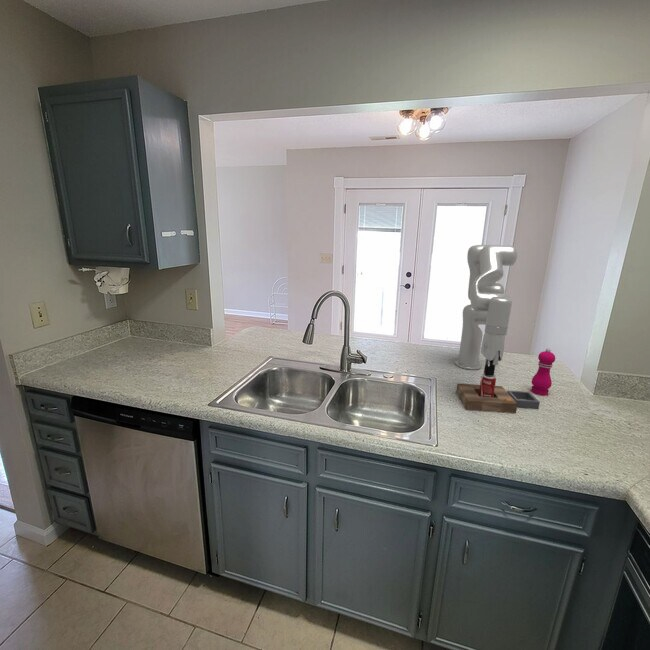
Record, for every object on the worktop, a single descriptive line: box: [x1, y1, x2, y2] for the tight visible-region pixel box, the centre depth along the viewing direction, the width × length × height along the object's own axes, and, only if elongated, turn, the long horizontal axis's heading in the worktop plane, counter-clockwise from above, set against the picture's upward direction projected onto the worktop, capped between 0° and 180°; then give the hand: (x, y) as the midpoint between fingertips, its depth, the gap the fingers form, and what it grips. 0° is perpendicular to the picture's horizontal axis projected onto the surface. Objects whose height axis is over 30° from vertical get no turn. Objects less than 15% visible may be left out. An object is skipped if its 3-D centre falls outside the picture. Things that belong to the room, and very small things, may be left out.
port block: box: [455, 382, 518, 414], centre depth 135 cm, size 15×18×4 cm
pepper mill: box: [530, 348, 556, 396], centre depth 142 cm, size 7×7×20 cm
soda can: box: [479, 372, 497, 397], centre depth 134 cm, size 5×5×12 cm
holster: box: [506, 390, 541, 410], centre depth 135 cm, size 9×9×3 cm
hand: (488, 374), depth 132 cm, fingers closed
